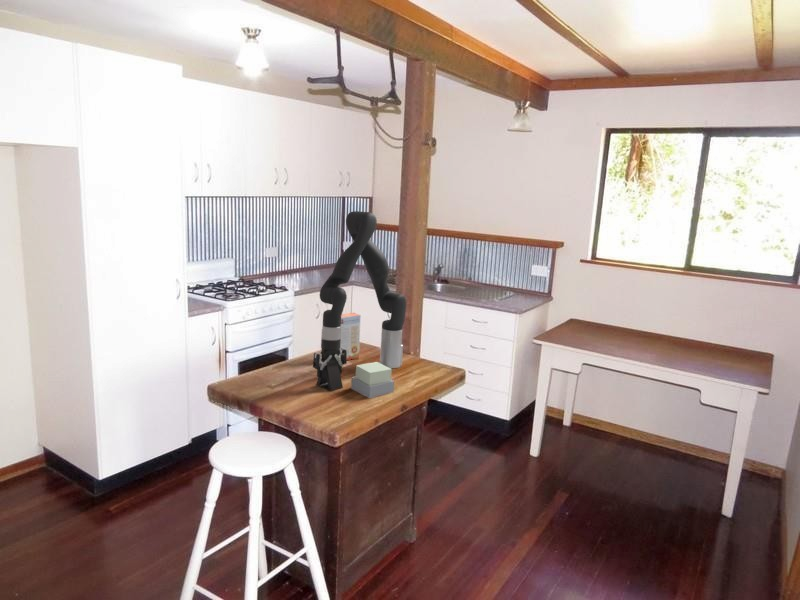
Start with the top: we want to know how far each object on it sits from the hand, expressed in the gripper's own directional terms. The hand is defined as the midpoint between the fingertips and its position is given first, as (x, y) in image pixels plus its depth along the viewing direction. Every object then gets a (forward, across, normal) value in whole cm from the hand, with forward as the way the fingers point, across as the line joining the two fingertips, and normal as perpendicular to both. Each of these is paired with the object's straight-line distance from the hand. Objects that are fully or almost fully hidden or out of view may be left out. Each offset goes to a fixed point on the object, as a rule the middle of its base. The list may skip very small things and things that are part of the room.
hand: (329, 376), depth 218 cm
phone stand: (+4, 0, 0) cm, 4 cm away
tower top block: (0, -12, +12) cm, 17 cm away
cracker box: (+4, -25, -26) cm, 36 cm away
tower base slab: (+4, -12, +12) cm, 18 cm away
